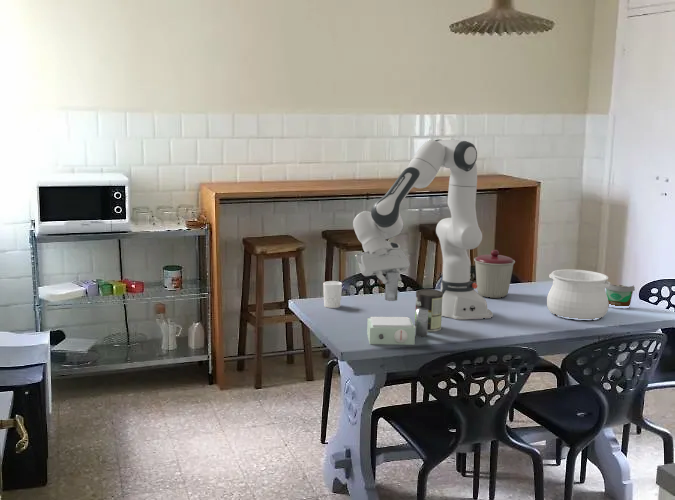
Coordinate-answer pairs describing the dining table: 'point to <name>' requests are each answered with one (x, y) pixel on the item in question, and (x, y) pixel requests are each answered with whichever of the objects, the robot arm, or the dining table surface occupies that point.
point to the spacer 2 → (421, 322)
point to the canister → (493, 274)
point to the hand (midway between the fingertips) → (392, 281)
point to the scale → (390, 330)
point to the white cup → (332, 294)
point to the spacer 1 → (391, 286)
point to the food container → (619, 295)
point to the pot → (578, 294)
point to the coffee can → (430, 307)
